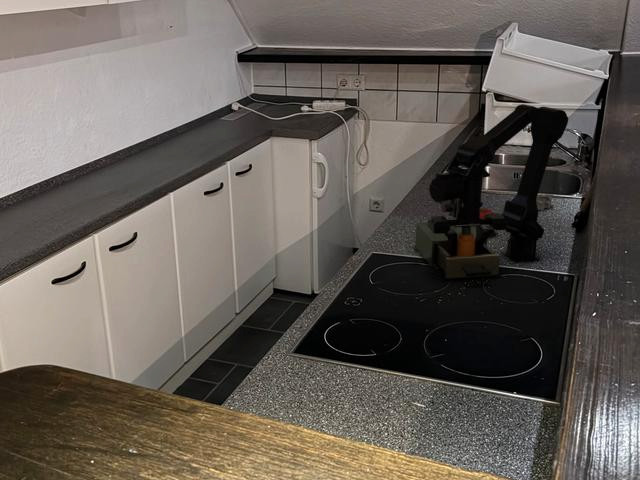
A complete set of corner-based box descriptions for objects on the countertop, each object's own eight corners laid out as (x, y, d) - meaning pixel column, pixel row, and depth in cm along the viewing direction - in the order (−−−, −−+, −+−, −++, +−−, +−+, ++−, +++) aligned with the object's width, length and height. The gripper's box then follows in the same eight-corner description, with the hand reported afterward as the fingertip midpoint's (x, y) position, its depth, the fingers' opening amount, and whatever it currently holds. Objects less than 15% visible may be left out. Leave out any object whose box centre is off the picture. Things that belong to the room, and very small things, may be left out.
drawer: (505, 281, 185) (507, 261, 183) (451, 285, 184) (453, 265, 182) (479, 255, 201) (480, 236, 199) (429, 258, 200) (430, 239, 198)
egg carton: (554, 207, 240) (555, 195, 238) (538, 212, 236) (539, 199, 234) (526, 199, 248) (527, 187, 247) (511, 203, 244) (512, 191, 243)
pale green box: (485, 262, 199) (487, 237, 196) (431, 266, 197) (432, 241, 195) (466, 243, 212) (468, 219, 210) (415, 247, 211) (416, 222, 208)
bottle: (470, 259, 195) (472, 223, 192) (476, 266, 191) (478, 229, 187) (453, 261, 195) (454, 224, 191) (459, 268, 191) (460, 230, 187)
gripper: (493, 185, 195) (488, 242, 201) (422, 188, 193) (419, 246, 199) (510, 197, 185) (505, 257, 190) (436, 201, 183) (432, 262, 188)
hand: (464, 255), depth 192 cm, fingers closed on bottle, 5 cm apart
